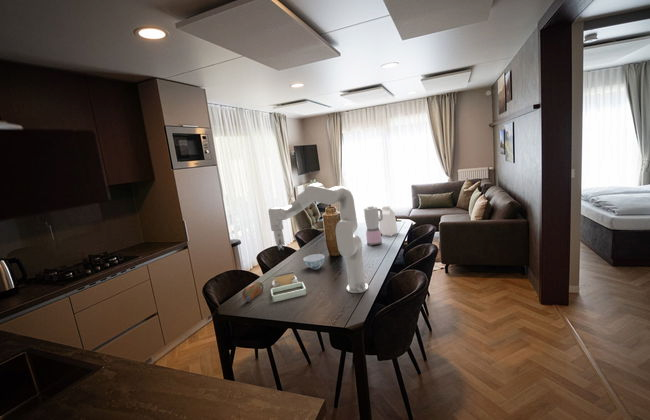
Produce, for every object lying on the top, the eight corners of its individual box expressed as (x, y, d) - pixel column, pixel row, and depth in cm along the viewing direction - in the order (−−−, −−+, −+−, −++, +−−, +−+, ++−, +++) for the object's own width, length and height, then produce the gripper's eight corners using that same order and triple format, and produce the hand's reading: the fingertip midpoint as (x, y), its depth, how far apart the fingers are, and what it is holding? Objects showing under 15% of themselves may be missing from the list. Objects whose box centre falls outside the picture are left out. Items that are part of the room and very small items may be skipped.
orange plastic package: (246, 304, 173) (244, 290, 172) (242, 303, 175) (240, 289, 174) (264, 292, 186) (262, 279, 184) (261, 292, 187) (258, 279, 186)
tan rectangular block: (295, 282, 193) (293, 271, 192) (276, 286, 191) (274, 275, 189) (294, 280, 196) (292, 270, 195) (275, 284, 194) (273, 274, 192)
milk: (380, 235, 281) (377, 207, 276) (386, 231, 289) (383, 205, 285) (391, 235, 273) (389, 207, 269) (397, 232, 281) (395, 205, 277)
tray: (306, 294, 176) (306, 288, 175) (273, 302, 171) (272, 296, 171) (303, 286, 187) (302, 281, 186) (271, 294, 183) (270, 288, 182)
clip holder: (299, 285, 190) (298, 280, 189) (273, 291, 186) (272, 286, 185) (296, 278, 201) (295, 273, 201) (272, 284, 198) (271, 279, 197)
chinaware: (323, 271, 209) (322, 260, 207) (302, 272, 212) (301, 261, 211) (327, 263, 223) (326, 253, 222) (307, 264, 226) (306, 254, 225)
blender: (370, 247, 248) (365, 208, 243) (365, 243, 260) (360, 206, 255) (388, 243, 252) (384, 205, 246) (382, 240, 263) (378, 204, 258)
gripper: (284, 228, 180) (288, 256, 183) (281, 223, 197) (285, 249, 200) (272, 231, 179) (276, 258, 182) (270, 225, 195) (274, 251, 198)
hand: (281, 253), depth 191 cm, fingers open, 9 cm apart
